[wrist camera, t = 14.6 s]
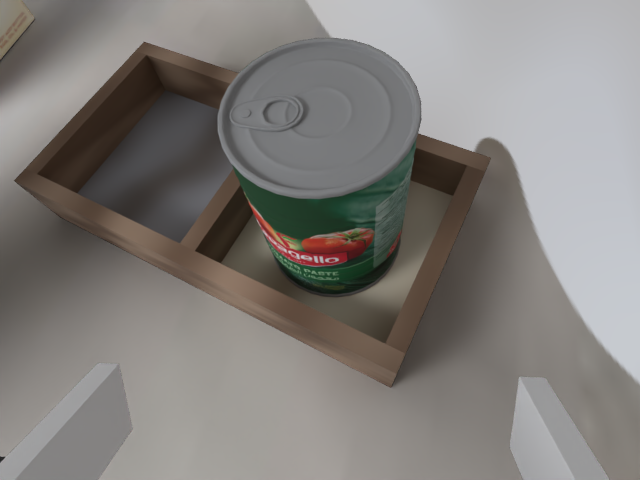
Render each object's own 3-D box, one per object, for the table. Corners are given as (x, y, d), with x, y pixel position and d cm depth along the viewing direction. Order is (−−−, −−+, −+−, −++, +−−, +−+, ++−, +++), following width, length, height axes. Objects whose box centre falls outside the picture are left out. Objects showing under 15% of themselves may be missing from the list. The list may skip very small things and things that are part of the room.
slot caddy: (60, 217, 30) (13, 180, 26) (169, 89, 35) (144, 41, 31) (391, 387, 24) (396, 373, 20) (472, 200, 28) (491, 157, 24)
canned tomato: (397, 180, 28) (416, 31, 18) (404, 298, 24) (431, 192, 15) (275, 183, 29) (229, 41, 19) (264, 297, 25) (202, 197, 15)
